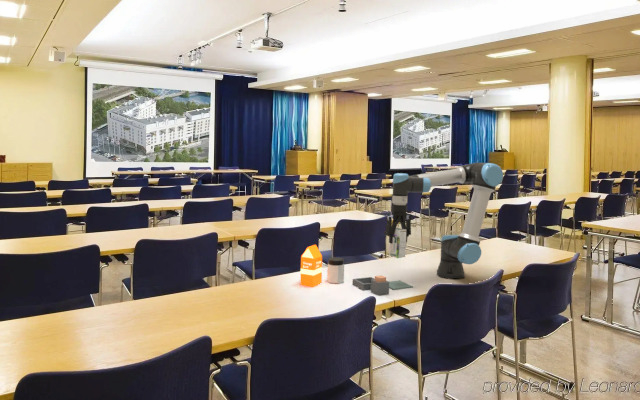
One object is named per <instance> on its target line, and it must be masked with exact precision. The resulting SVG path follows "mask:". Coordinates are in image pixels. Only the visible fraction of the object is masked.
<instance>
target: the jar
mask: <svg viewBox="0 0 640 400" xmlns="http://www.w3.org/2000/svg"><path fill="white" fill-rule="evenodd" d="M344 260H345V259H344V258H342V257H335V256H334V257H329V258H328V260H327V269H326V270H327V271H326V272H327V275H326V278H327V279H326V280H327V282H328V283H329V284H335V283H338V284H341V283H340V282H343V283H344V282H345V280H344V279H345V264H344V262H345V261H344Z"/></svg>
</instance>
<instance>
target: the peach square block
mask: <svg viewBox="0 0 640 400" xmlns="http://www.w3.org/2000/svg"><path fill="white" fill-rule="evenodd" d="M374 279H375V281H377V282H386V281H387V277H386V276H384V275H375V276H374Z"/></svg>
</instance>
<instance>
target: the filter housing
mask: <svg viewBox="0 0 640 400" xmlns="http://www.w3.org/2000/svg"><path fill="white" fill-rule="evenodd" d="M389 282H390V280H389V281H388V280H386V282H377V281H375V277H372V276H368V277H367V276H366V277H360V278H359V277H358V278H352V285H353V286H354V287H356V288H358V289H360V290H361V291H370V292H371V293H373V294H375V295H376V296H382V295H383V296H384V295H389V294H390V288H389Z"/></svg>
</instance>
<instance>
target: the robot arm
mask: <svg viewBox="0 0 640 400" xmlns="http://www.w3.org/2000/svg"><path fill="white" fill-rule="evenodd" d="M503 179H504V172H503V170H502V168H501V166H499V165H498V164H496V163H493V162H491V163H490V162H473V163H469V164H464V165H460V166H457V167H456V168H453V169H452V168H451V169H445V170H440V171H439V170H438V171H433V172H426V173H425V172H424V173H420V174H413V175H409V174H408V173H403V172H400V173H399V172H397V173H394V174H393V178H392V199H391V203H392V205H391V211H392V213H391V215H389V216H388V215H387V216H386V229H385V236H387V237H388V243H389V249H391V250H394V241H395V237H393V236H394V233H395V230H396V228H397V227H398V224H400V227H401V229H406V243H407V242H408V237H410V236H411V235H412V226H411V224H412V222H411V220H412V215H409V214H407V211H408V196H409V195H408V194H409V193H429V192H430V191H431V189H432V187H436V186H438V187H439V186H443V185H449V184H450V185H451V184H455V183H459V184H472V185H471V186H472V188H473V193H472V197H471V200H470V203H469V206H468V210H467V214H466V216H465V220H464V223H463V224H464V225H463V228H462V232H461V233H459V234H445V235H442V237H441V239H440V240H441V241H440V244H441V245H440V260H439V264H438V267H437V269H436V276H437V275H438V276H437V277H439V276H441V277H440V278H443V277H445V278H444V279H448V278H461V279H464V278H465V277H464V276H465V274H466V273H465V269H464V266H463V265H464V264H465V265H473V264H475V263H477V262H478V261H479V260H480V258H481V256H482V249H481V246H480V244H481V240H480V238H479V236H480V233H481V229H482V226H483V222H484V218H485V215H486V212H487V208H488V204H489V201H490V198H491V194H492V193H494V192H495V191H496V187H497V186H499V185H500V184H501V183H502V182H503ZM463 277H464V278H463Z"/></svg>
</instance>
